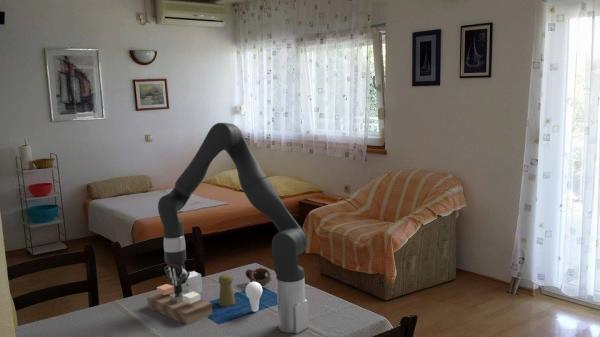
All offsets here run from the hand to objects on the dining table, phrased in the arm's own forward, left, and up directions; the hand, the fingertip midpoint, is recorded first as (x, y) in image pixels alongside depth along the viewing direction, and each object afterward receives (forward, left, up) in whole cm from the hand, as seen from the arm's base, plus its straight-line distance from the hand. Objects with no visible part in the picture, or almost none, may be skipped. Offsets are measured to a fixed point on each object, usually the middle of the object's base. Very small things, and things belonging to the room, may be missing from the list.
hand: (178, 294), depth 188 cm
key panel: (0, 0, -6) cm, 6 cm away
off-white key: (-8, 0, 0) cm, 8 cm away
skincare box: (+11, -14, -6) cm, 19 cm away
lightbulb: (-23, -16, -6) cm, 29 cm away
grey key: (0, 0, -2) cm, 2 cm away
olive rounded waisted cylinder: (-9, -15, -6) cm, 19 cm away
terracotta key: (+8, 0, -1) cm, 8 cm away
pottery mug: (-5, -35, -7) cm, 36 cm away
